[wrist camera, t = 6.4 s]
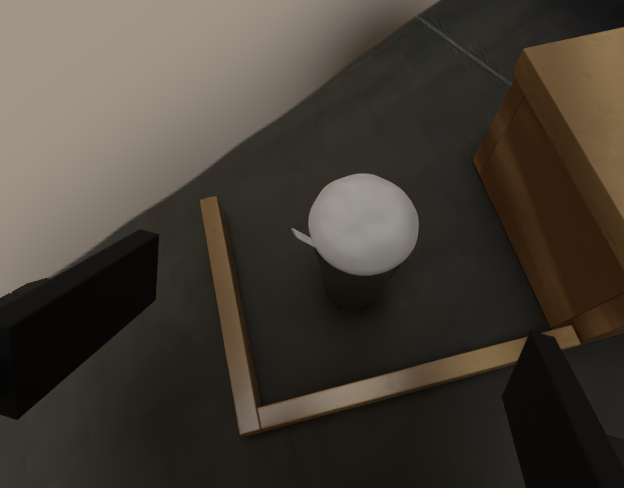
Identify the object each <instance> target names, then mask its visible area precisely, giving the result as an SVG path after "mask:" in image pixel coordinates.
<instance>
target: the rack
mask: <svg viewBox="0 0 624 488" xmlns="http://www.w3.org/2000/svg"><path fill="white" fill-rule="evenodd" d="M512 73H513V75H514V77H515V80H514V82H513V84H512V86H511V87H510V89H509V91H508V93H507V95H506V97H505V99H504V101H503V103H502V105H501V106H500V108H499V110H498V112H497V114H496V116H495V118H494V120H493V122H492V124H491V126H490V127H489V129H488V131H487V133H486V135H485V137H484V139H483V141H482V143H481V145H480V147H479V148H478V150H477V152H476V154H475V156H474V158H473V163H474V165H475V167H476V169H477V171H478V173H479V174H480V178H481V180H482V182H483V184H484V187H485V189H486V191H487V193H488V195H489V197H490V199H491V202H492V204H493V206H494V208H495V210H496V212H497V214H498V216H499V219H500V221H501V223H502V225H503V227H504V229H505V231H506V234H507V236H508V238H509V240H510V242H511V244H512V246H513V249H514V251H515V253H516V255H517V257H518V259H519V261H520V264H521V266H522V268H523V270H524V272H525V274H526V276H527V279H528V281H529V283H530V285H531V287H532V289H533V291H534V294H535V296H536V298H537V300H538V302H539V304H540V306H541V309H542V311H543V313H544V315H545V317H546V319H547V321H548V324H549V326H550V328H552V329H551V330H550V331H546V332H543V333H542V334H546V335H549V336H553V337H555V339H556V340H557V342H558V344H559V346H560V348H561V350H562V351H565V350H567V349H570V348H573V347H575V346H579V345H583V344H587V343H590V342H594V341H598V340H602V339H605V338H609V337H613V336H617V335H620V334H624V27H623V28H618V29H614V30H609V31H604V32H600V33H595V34H590V35H585V36H581V37H576V38H571V39H567V40H562V41H557V42H553V43H548V44H543V45H538V46H534V47H529V48H524V49H523V51H522V53H521V55H520V57H519V59H518V61H517V63H516V65H515V67H514V69H513V71H512ZM200 205H201V211H202V217H203V223H204V229H205V235H206V240H207V246H208V252H209V258H210V264H211V270H212V276H213V282H214V288H215V294H216V299H217V305H218V311H219V317H220V323H221V329H222V335H223V341H224V347H225V353H226V358H227V364H228V370H229V376H230V382H231V388H232V394H233V400H234V406H235V411H236V417H237V423H238V429H239V434H240V435H244V436H250V435H254V434H258V433H262V432H265V431H266V430H267V431H269V430H273V429H276V428H280V427H284V426H288V425H291V424H295V423H299V422H303V421H306V420H310V419H314V418H318V417H321V416H325V415H329V414H333V413H336V412H340V411H344V410H347V409H351V408H355V407H359V406H362V405H366V404H370V403H374V402H377V401H381V400H385V399H389V398H392V397H396V396H400V395H404V394H407V393H411V392H415V391H418V390H422V389H426V388H430V387H433V386H437V385H441V384H445V383H448V382H452V381H456V380H460V379H463V378H467V377H471V376H475V375H478V374H482V373H486V372H490V371H493V370H497V369H501V368H504V367H508V366H512V365H516V363H517V360H518V358H519V356H520V353H521V351H522V349H523V346H524V344H525V342H526V339H527V337H528V336H527V337H524V338H520V339H516V340H512V341H508V342H505V343H501V344H497V345H493V346H489V347H486V348H482V349H478V350H474V351H470V352H467V353H463V354H459V355H455V356H451V357H448V358H444V359H440V360H436V361H432V362H429V363H425V364H421V365H417V366H413V367H410V368H406V369H402V370H398V371H394V372H391V373H387V374H383V375H379V376H375V377H372V378H368V379H364V380H360V381H356V382H353V383H349V384H345V385H341V386H337V387H334V388H330V389H326V390H322V391H318V392H315V393H311V394H307V395H303V396H299V397H296V398H292V399H288V400H284V401H280V402H277V403H273V404H269V405H265V406H262V404H261V399H260V393H259V388H258V383H257V378H256V373H255V368H254V362H253V357H252V352H251V347H250V342H249V336H248V331H247V326H246V321H245V316H244V310H243V305H242V300H241V295H240V290H239V284H238V279H237V274H236V269H235V264H234V259H233V253H232V248H231V243H230V238H229V233H228V227H227V222H226V217H225V214H224V212H223V209H222V207H221V205H220V203H219V200H218V198H217V196H214V197H209V198H205V199H201V200H200Z"/></svg>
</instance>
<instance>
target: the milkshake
mask: <svg viewBox="0 0 624 488" xmlns="http://www.w3.org/2000/svg"><path fill="white" fill-rule="evenodd" d="M308 223H309V232H310V236H311V238H310V237H308V236H306V235H304V234H303V233H301V232H299V231H297V230H295V229H294V228H291V229H292V231H293V233H294V235H295V237H296V238H298V239H299V240H301V241H303V242H305V243H307V244H309V245H311V246H313V247H314V249H315V252H316V255H317V258H318V261H319V264H320V268H321V272H322V276H323V281H324V285H325V290H326V294H327V296H328V297H329V298H330V299H331V300H332V301H333V302H334V303H335V304H336V305H337V306H338V307H339V308H340V309H346V310H351V311H360V310H362V309H364V308H366V307H368V306H370V305H372V304H374V303H375V301H376V300H377V298H378V296H379V295H380V293H381V292H382V290H383V289H384V287H385V286H386V284H387V283H388V281H389V280H390V278H391V277H392V276H393V274H394V273H395V272H396V271H397V269H398V268H399V267H400V266H401V264H402V263H403V262H404V260H405V259H406V258H407V257H408V256H409V255H410V253H411V252H412V250H413V249H414V247H415V244H416V241H417V237H418V226H419V222H418V215H417V211H416V209H415V207H414V205H413V204H412V202H411V200H410V199H409V198H408V196H407V195H406V194H405V193H404V192H403V191H402V190H401V189H400V188H399V187H398V186H396V185H395V184H393V183H391V182H389V181H387V180H385V179H383V178H381V177H378V176H376V175H372V174H354V175H350V176H347V177H344V178H341V179H338V180H335V181H333V182H331V183H330V184H328V185H327V186H326V187H325V188H324V189H323V190H322V191H321V192H320V194H319V195H318V197H317V199H316V200H315V202H314V204H313V206H312V208H311V210H310V214H309V221H308Z"/></svg>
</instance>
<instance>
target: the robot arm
mask: <svg viewBox="0 0 624 488" xmlns="http://www.w3.org/2000/svg"><path fill="white" fill-rule="evenodd" d="M158 245H159V234H156V233H152V232H148V231H144V230H138V231H136V232H134V233H132V234H131V235H129V236H127V237H125V238H123V239H122V240H120V241H118V242H116V243H115V244H113V245H111V246H109V247H107V248H106V249H104V250H102V251H100V252H99V253H97V254H95V255H93V256H91V257H90V258H88V259H86V260H84V261H83V262H81V263H79V264H77V265H75V266H74V267H72V268H70V269H68V270H67V271H65V272H63V273H61V274H59V275H58V276H56V277H54V278H52V279H48V278H45V279H41V280H38V281H34V282H31V283H27V284H25V285H24V286H22V287H20V288H18V289H16V290H14V291H13V292H12V293H11V294H10V293H9V294H7V295H5V296H3V297H1V298H0V415H3V416H6V417H9V418H12V419H15V420H18V419H19V418H20V417H21V416H22V415H23V414H25V413H26V412H27V411H28V410H29V409H30V408H32V407H33V406H34V405H35V404H36V403H37V402H38V401H40V400H41V399H42V398H43V397H44V396H45V395H47V394H48V393H49V392H50V391H51V390H52V389H53V388H55V387H56V386H57V385H58V384H59V383H60V382H62V381H63V380H64V379H65V378H66V377H67V376H68V375H70V374H71V373H72V372H73V371H74V370H75V369H77V368H78V367H79V366H80V365H81V364H82V363H83V362H85V361H86V360H87V359H88V358H89V357H90V356H92V355H93V354H94V353H95V352H96V351H97V350H98V349H100V348H101V347H102V346H103V345H104V344H105V343H107V342H108V341H109V340H110V339H111V338H112V337H113V336H115V335H116V334H117V333H118V332H119V331H120V330H122V329H123V328H124V327H125V326H126V325H127V324H128V323H130V322H131V321H132V320H133V319H134V318H135V317H137V316H138V315H139V314H140V313H141V312H142V311H143V310H145V309H146V308H147V307H148V306H149V305H150V304H152V303H153V302H154V301H155V300H156V283H157V264H158ZM502 399H503V403H504V407H505V411H506V414H507V418H508V422H509V426H510V429H511V433H512V437H513V441H514V444H515V448H516V452H517V456H518V459H519V463H520V467H521V471H522V474H523V478H524V482H525V486H526V488H624V441H623V440H622V439H619V438H616V437H612V436H609V435H606V433H605V431H604V429H603V428H602V426H601V424H600V422H599V420H598V418H597V416H596V414H595V412H594V410H593V409H592V407H591V405H590V403H589V401H588V399H587V397H586V395H585V393H584V392H583V390H582V388H581V386H580V384H579V382H578V380H577V378H576V376H575V375H574V373H573V371H572V369H571V367H570V365H569V363H568V361H567V359H566V357H565V356H564V354H563V352H562V350H561V348H560V346H559V344H558V342H557V340H556V339H555V337H553V336H549V335H546V334H542V333H538V332H534V331H530V332H529V335H528V337H527V339H526V342H525V344H524V346H523V349H522V351H521V353H520V356H519V358H518V360H517V363H516V365H515V367H514V370H513V372H512V374H511V377H510V379H509V381H508V384H507V386H506V388H505V391H504V393H503V395H502Z"/></svg>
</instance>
